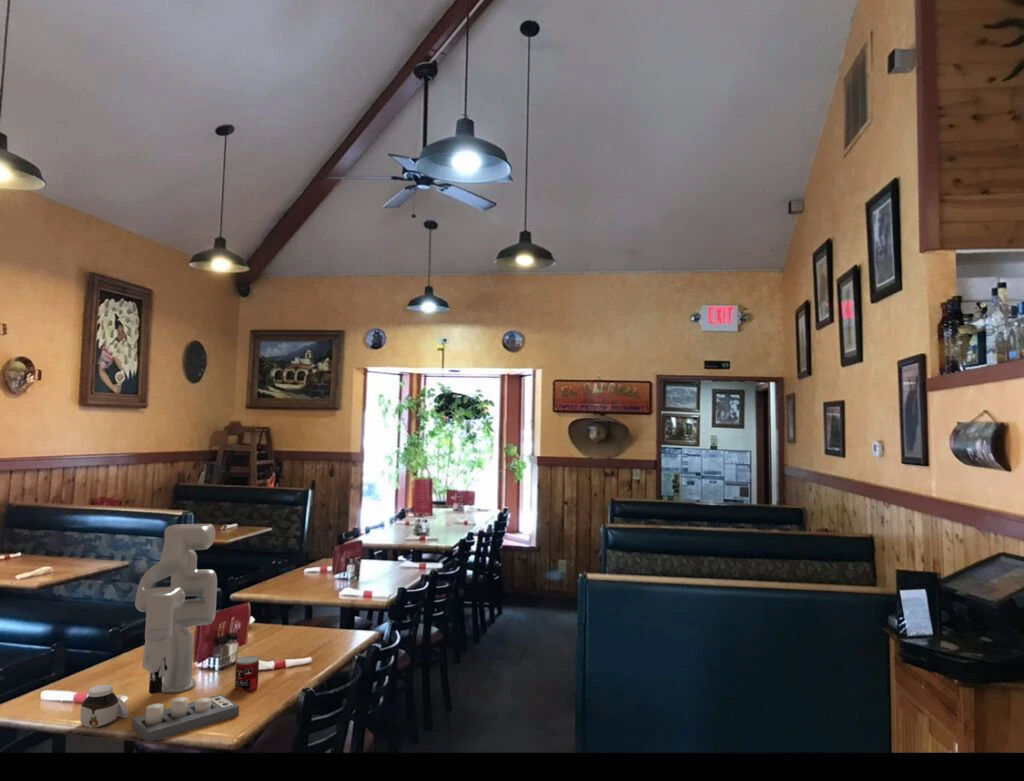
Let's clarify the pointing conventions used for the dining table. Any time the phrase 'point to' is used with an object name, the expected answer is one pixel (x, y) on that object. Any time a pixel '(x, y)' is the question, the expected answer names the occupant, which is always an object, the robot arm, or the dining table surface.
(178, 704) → the button
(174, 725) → the board
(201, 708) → the button
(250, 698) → the dining table surface
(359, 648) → the dining table surface
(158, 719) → the button
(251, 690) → the canned food
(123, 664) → the dining table surface
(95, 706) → the spread jar
